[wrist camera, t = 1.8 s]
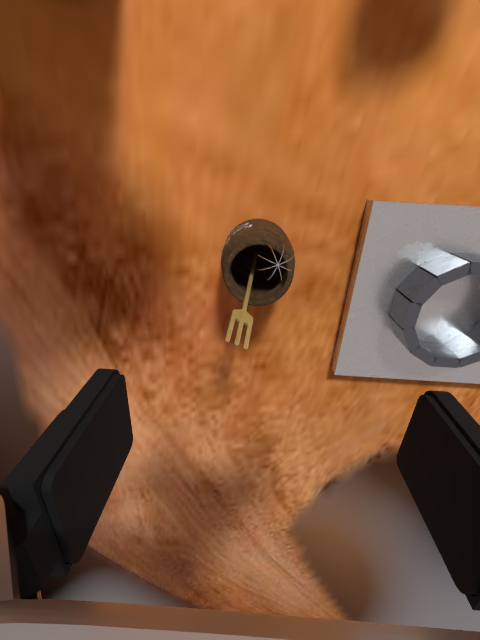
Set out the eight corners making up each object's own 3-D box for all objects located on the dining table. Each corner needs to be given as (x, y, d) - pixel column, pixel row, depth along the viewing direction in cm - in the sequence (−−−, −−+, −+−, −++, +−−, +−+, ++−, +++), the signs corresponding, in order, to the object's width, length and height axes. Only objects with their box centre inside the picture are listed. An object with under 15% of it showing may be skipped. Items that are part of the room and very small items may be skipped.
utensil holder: (301, 234, 27) (333, 276, 17) (269, 293, 30) (278, 363, 19) (241, 204, 27) (233, 229, 16) (213, 268, 29) (190, 327, 18)
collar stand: (367, 199, 26) (388, 205, 22) (571, 210, 26) (630, 218, 22) (331, 366, 33) (341, 393, 29) (488, 376, 33) (521, 405, 29)
